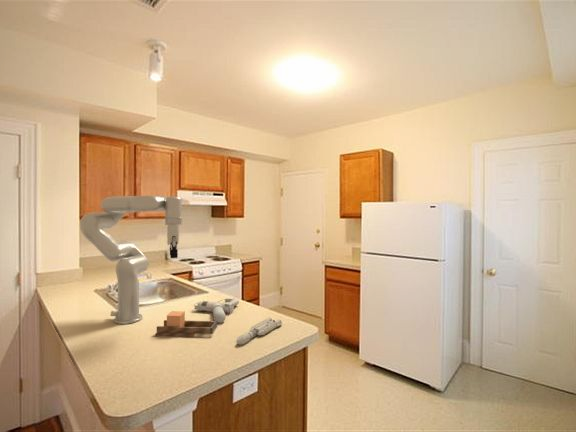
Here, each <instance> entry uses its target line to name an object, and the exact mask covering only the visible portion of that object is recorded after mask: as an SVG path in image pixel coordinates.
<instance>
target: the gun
mask: <svg viewBox="0 0 576 432" xmlns="http://www.w3.org/2000/svg"><path fill="white" fill-rule="evenodd" d="M222 301H223V302H222ZM239 303H240V301H239V299H238V298H223V299H222V300H221V299H220V300H219V301H218V300H217V301H206V300H201V301H198V302H196V303H194V304H193V305H192V304H191V306H194V307H193V308H194V310H196V311H199V312H207V313H208V312H209V313H212V316H213V319H214V320H213V321H217V324H222V323H224V322H225V320H226V315H227V314H229V315H231V314H233V313H234V310H235V306H237V305H239Z"/></svg>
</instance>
